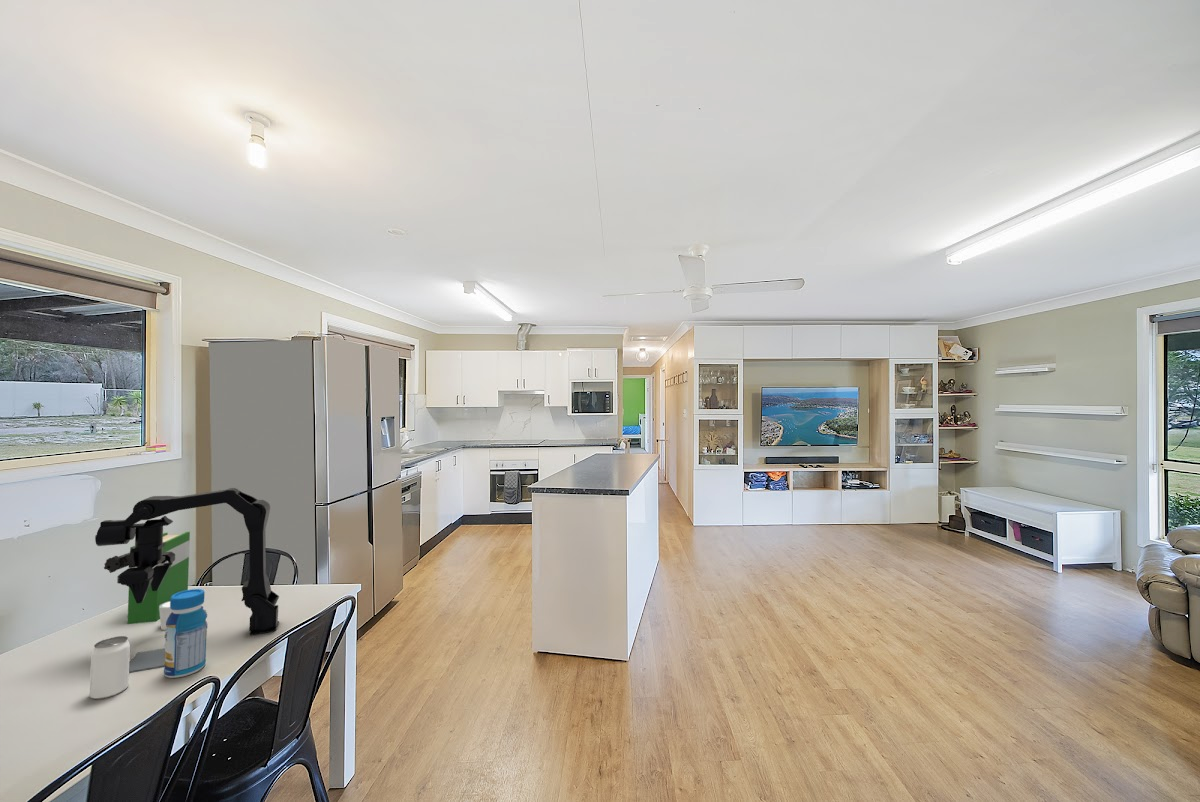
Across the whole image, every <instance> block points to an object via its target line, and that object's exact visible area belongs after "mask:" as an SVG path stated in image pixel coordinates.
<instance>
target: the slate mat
mask: <svg viewBox="0 0 1200 802" xmlns="http://www.w3.org/2000/svg"><path fill="white" fill-rule="evenodd" d="M164 667H165V647H164V648H158V649H152V650H151V649H150V650H144V651H140V652H137V653H136V654H135V655H134V656H133V657H132V658H130V659H129V674H130V673H135V672H136V673H137V672H141V671H147V670H152V669H158V668H159V669H160V668H164Z"/></svg>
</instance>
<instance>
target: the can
mask: <svg viewBox="0 0 1200 802" xmlns="http://www.w3.org/2000/svg"><path fill="white" fill-rule="evenodd" d="M128 639H129V637H128V636H126V635H125V636H124V635H120V636H112V637H108V638H105V639H103V640H100V641H98V642H96V643H95V644H94V645H93V650H91V655H90V656H91V657H90V676H89V678H90V680H89V697H90V698H91V699H93V700H103V699H108V698H111V697H113V696H116V695H119V694H121V693H122V692H123V691H125V690H126V689H127V688H128V687H129V682H130V673H129V661H130V660H131V657H130V655H131V654H130V653H131V652H130V651H131V643H130V642H129V640H128Z"/></svg>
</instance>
